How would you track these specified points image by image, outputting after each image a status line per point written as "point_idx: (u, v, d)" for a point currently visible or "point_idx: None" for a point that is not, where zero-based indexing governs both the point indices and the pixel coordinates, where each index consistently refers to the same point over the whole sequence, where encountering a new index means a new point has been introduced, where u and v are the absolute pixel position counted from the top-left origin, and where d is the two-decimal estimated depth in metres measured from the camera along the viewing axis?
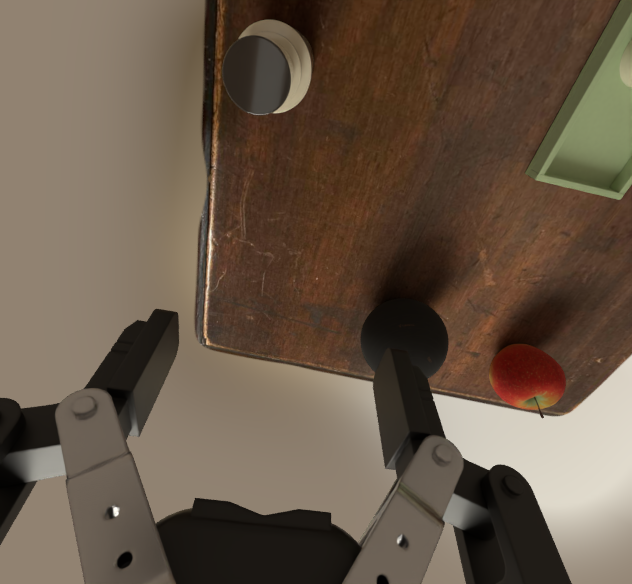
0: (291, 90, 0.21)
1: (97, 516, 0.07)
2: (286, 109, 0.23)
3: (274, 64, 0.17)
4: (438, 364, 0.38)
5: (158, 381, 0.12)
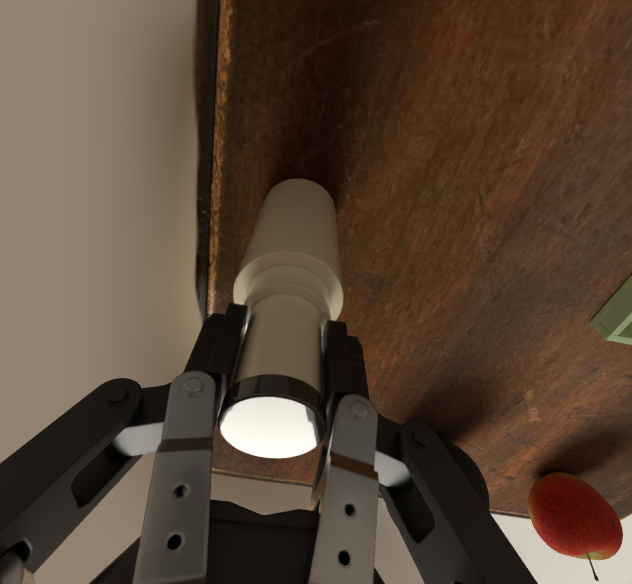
0: None
1: (168, 489, 0.07)
2: None
3: (301, 419, 0.10)
4: None
5: (235, 368, 0.13)
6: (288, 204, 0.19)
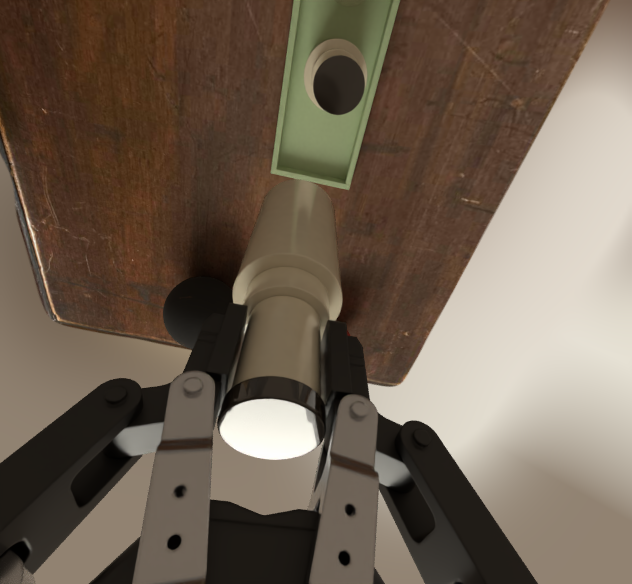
0: None
1: (168, 489, 0.07)
2: None
3: (300, 421, 0.10)
4: None
5: (234, 368, 0.13)
6: (287, 205, 0.19)
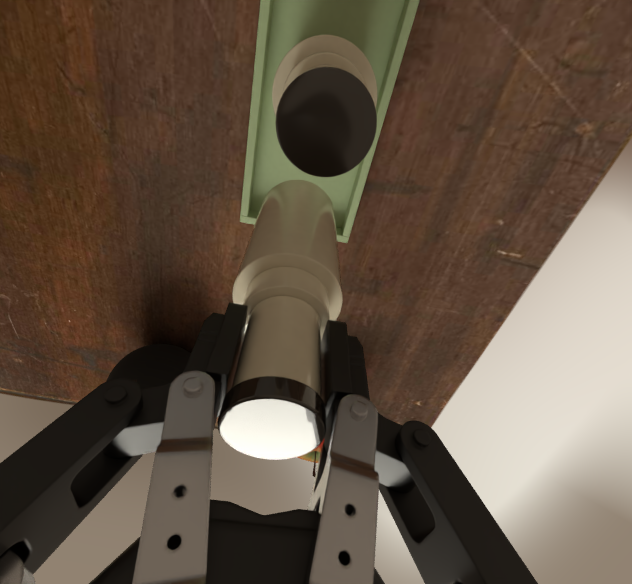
0: None
1: (168, 489, 0.07)
2: None
3: (300, 421, 0.10)
4: None
5: (234, 368, 0.13)
6: (286, 205, 0.19)
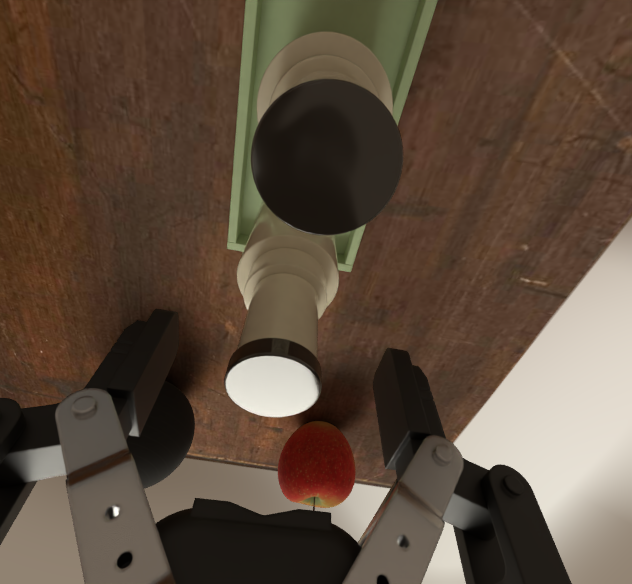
0: None
1: (97, 516, 0.07)
2: None
3: (298, 378, 0.12)
4: (154, 472, 0.30)
5: (158, 381, 0.12)
6: None
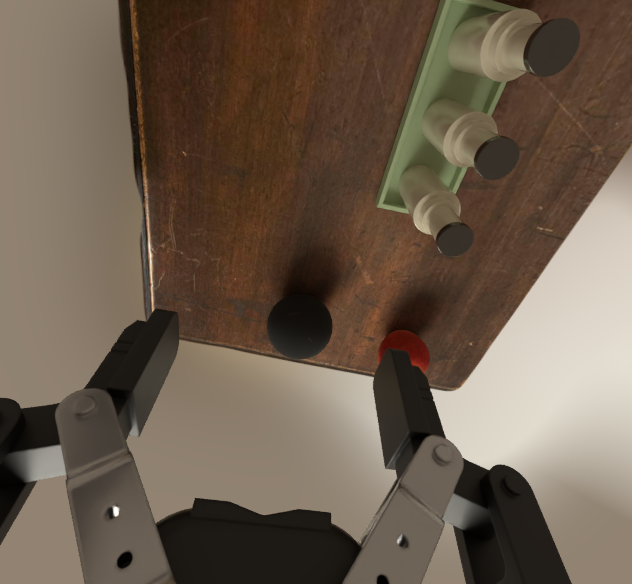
0: None
1: (97, 516, 0.07)
2: None
3: (466, 236, 0.32)
4: (319, 343, 0.51)
5: (158, 381, 0.12)
6: (426, 175, 0.41)
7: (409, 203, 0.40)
